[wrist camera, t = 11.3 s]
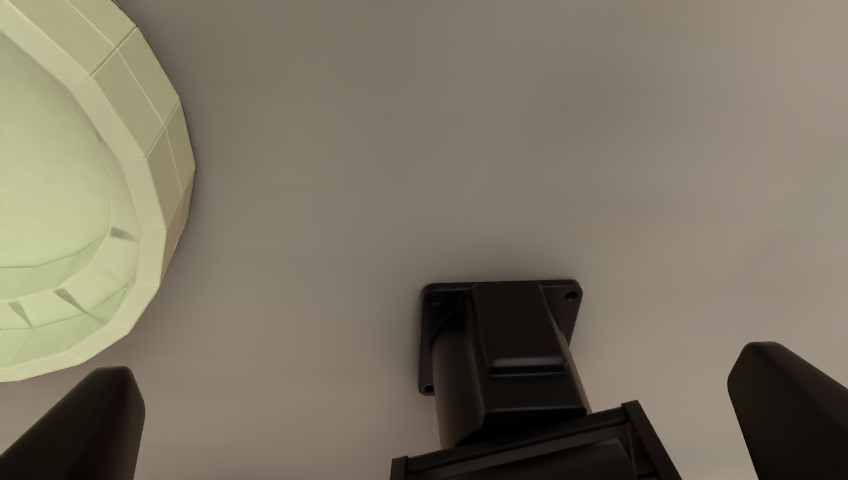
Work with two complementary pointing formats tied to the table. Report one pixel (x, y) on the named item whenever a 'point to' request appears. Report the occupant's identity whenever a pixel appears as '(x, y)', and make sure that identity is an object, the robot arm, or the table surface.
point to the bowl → (83, 181)
